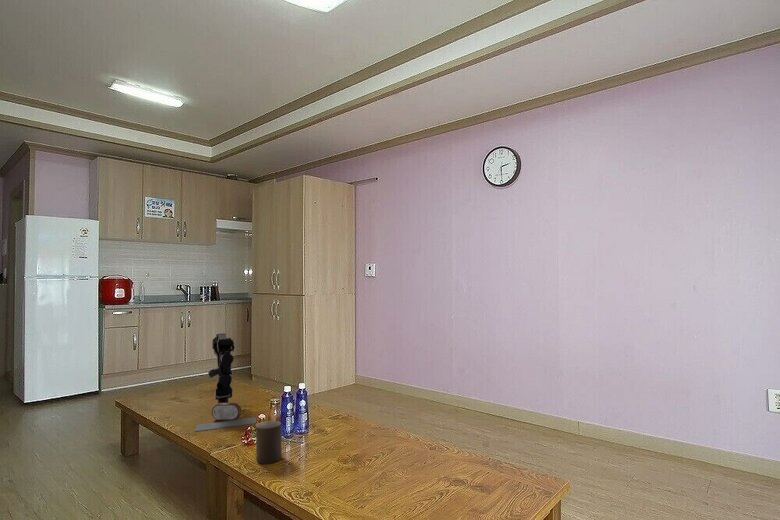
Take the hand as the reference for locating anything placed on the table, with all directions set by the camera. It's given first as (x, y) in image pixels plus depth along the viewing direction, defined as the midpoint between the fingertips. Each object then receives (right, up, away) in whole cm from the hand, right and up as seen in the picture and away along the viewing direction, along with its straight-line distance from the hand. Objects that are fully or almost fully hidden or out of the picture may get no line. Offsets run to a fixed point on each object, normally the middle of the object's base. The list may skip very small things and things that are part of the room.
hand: (226, 391), depth 237 cm
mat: (+5, -12, -14) cm, 19 cm away
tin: (+3, -13, -7) cm, 15 cm away
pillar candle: (+39, -10, -59) cm, 71 cm away
